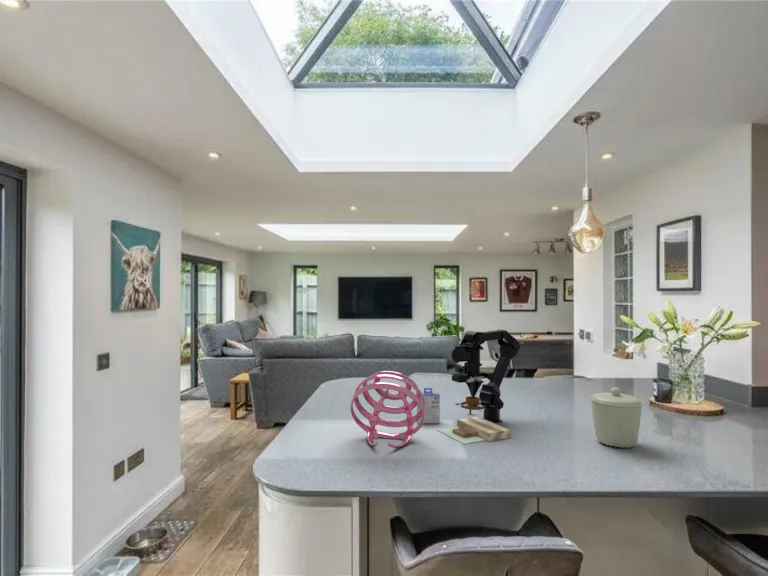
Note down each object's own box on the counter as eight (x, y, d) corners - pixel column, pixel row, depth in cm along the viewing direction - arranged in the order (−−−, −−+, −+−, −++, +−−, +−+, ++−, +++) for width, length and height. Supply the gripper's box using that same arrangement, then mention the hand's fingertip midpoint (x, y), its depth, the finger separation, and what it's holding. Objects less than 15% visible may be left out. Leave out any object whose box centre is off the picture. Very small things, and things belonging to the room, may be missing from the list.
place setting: (494, 408, 210) (494, 397, 210) (472, 416, 196) (472, 403, 196) (465, 402, 222) (465, 391, 222) (442, 409, 208) (442, 397, 208)
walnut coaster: (466, 430, 171) (466, 426, 171) (477, 435, 165) (477, 431, 165) (452, 432, 168) (452, 429, 169) (462, 438, 162) (462, 434, 162)
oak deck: (478, 423, 182) (478, 416, 182) (510, 437, 164) (510, 429, 164) (457, 426, 178) (457, 419, 178) (488, 441, 160) (488, 433, 160)
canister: (624, 455, 146) (624, 394, 147) (579, 440, 162) (578, 385, 163) (655, 447, 154) (654, 390, 155) (609, 433, 170) (608, 381, 171)
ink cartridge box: (438, 420, 187) (438, 387, 187) (440, 424, 181) (440, 390, 182) (416, 420, 187) (416, 387, 187) (417, 423, 181) (417, 390, 182)
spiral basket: (405, 405, 134) (413, 349, 157) (329, 418, 144) (347, 363, 166) (433, 460, 147) (437, 401, 170) (361, 468, 156) (374, 411, 179)
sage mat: (457, 427, 176) (457, 426, 176) (485, 440, 160) (485, 439, 160) (437, 430, 172) (437, 429, 172) (464, 444, 156) (464, 443, 156)
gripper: (478, 357, 192) (478, 391, 191) (444, 359, 184) (444, 395, 183) (495, 360, 182) (495, 396, 181) (459, 362, 174) (459, 400, 173)
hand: (473, 397), depth 180 cm, fingers closed
